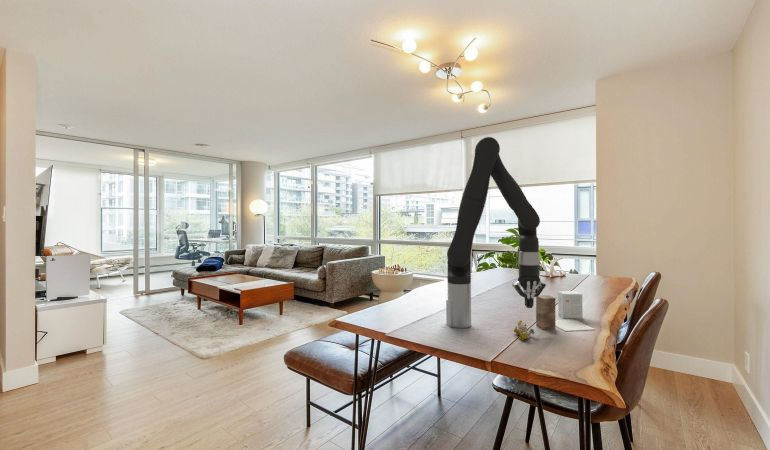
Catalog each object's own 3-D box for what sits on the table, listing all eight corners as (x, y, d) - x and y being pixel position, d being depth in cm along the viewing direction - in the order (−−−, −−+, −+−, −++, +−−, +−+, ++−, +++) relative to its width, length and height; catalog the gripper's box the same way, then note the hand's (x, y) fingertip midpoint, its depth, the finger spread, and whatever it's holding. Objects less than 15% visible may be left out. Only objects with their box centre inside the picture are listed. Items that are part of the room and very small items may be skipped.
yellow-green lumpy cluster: (532, 324, 136) (537, 335, 122) (523, 334, 137) (527, 346, 123) (520, 315, 138) (524, 324, 123) (511, 325, 138) (514, 335, 124)
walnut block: (543, 329, 135) (543, 298, 135) (536, 325, 140) (536, 295, 140) (555, 329, 136) (555, 298, 135) (548, 325, 141) (548, 295, 140)
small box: (577, 315, 154) (577, 291, 154) (582, 318, 148) (582, 293, 148) (557, 314, 155) (557, 290, 155) (563, 318, 149) (562, 293, 149)
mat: (565, 331, 133) (565, 330, 133) (546, 321, 146) (546, 320, 146) (595, 329, 134) (595, 329, 134) (573, 319, 147) (573, 319, 147)
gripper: (517, 265, 132) (517, 311, 133) (550, 263, 133) (550, 309, 134) (508, 262, 140) (508, 305, 140) (540, 261, 141) (540, 304, 141)
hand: (529, 307), depth 137 cm, fingers closed
